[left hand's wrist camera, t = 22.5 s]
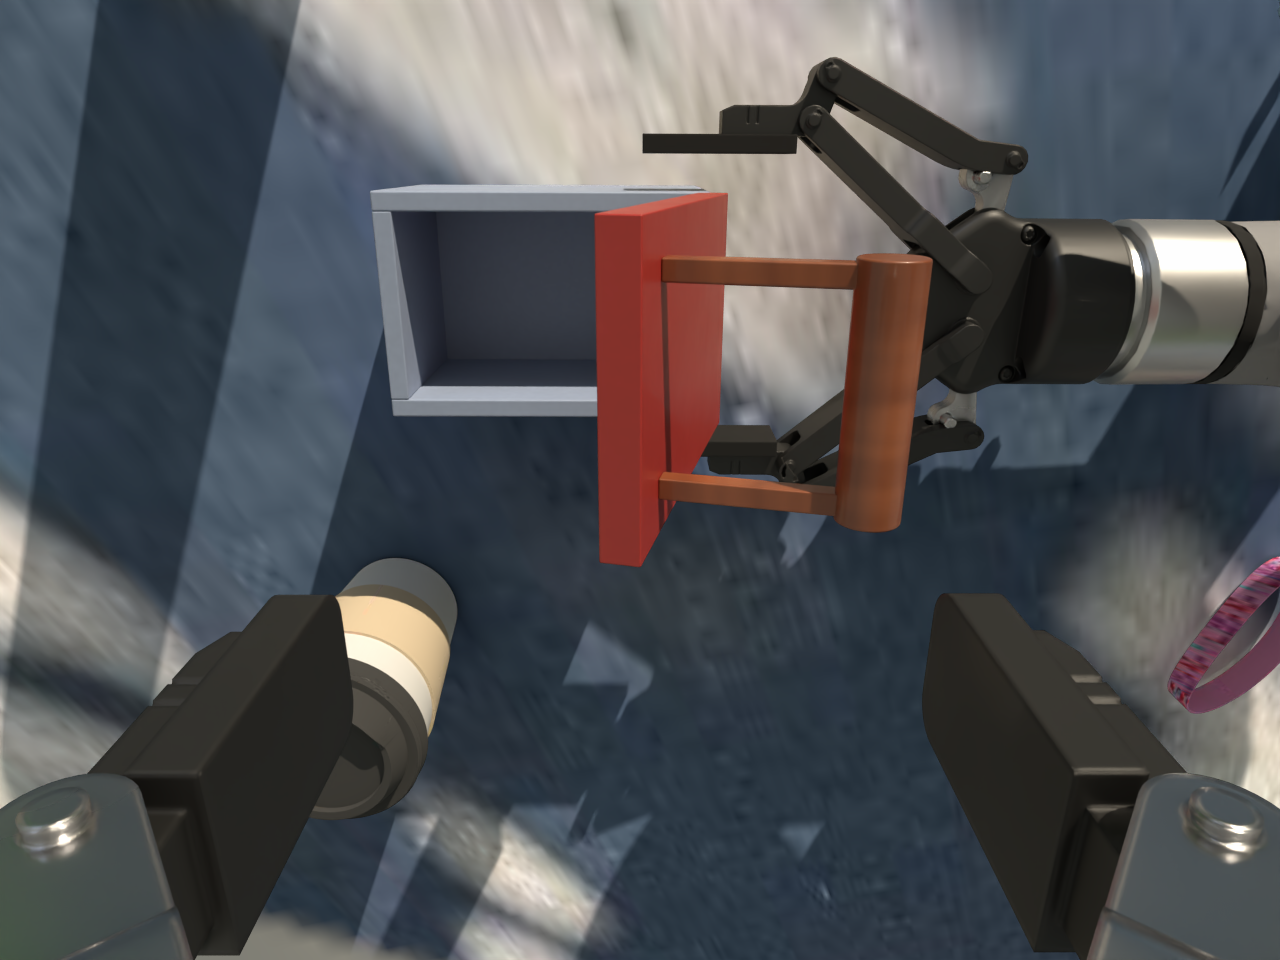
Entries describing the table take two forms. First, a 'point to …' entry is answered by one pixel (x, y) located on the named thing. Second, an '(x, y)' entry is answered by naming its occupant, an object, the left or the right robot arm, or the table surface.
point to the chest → (494, 295)
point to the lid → (691, 372)
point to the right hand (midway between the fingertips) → (640, 301)
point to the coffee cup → (389, 683)
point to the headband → (1217, 634)
